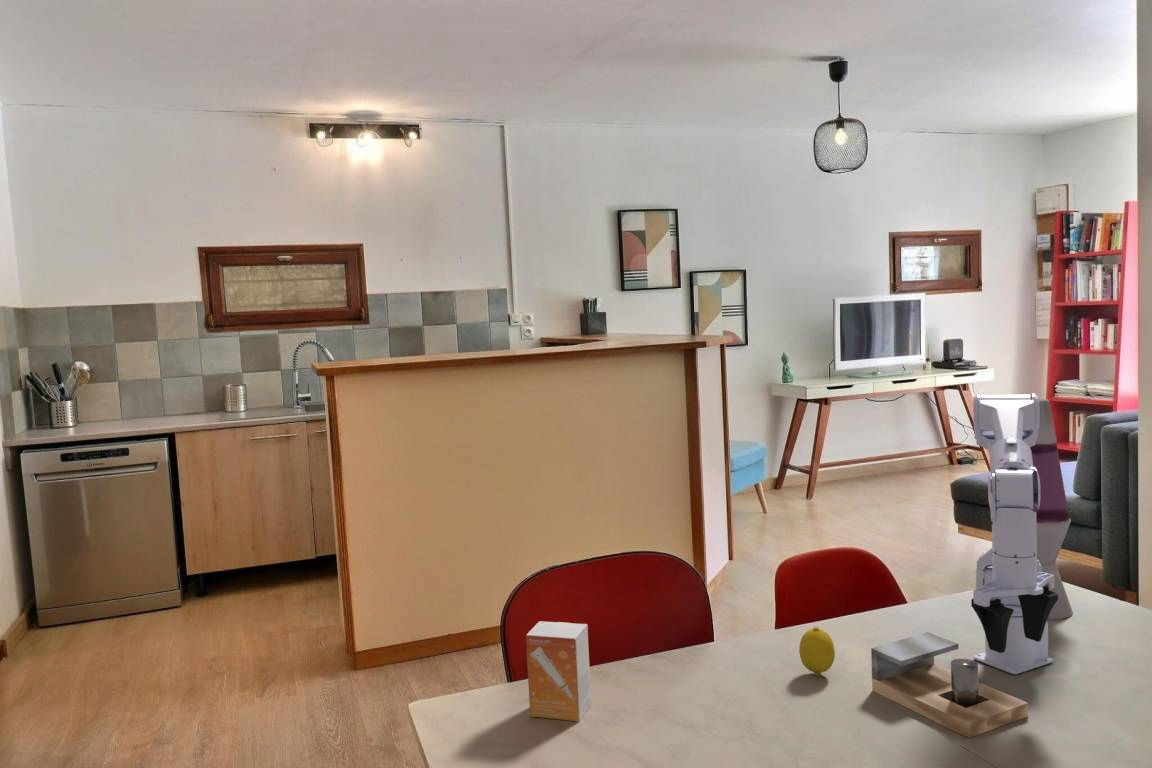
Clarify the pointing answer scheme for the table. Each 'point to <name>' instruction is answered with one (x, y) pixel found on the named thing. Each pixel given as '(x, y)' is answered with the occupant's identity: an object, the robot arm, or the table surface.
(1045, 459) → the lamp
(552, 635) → the small box
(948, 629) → the table surface
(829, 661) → the lemon
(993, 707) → the socket board
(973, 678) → the peg
